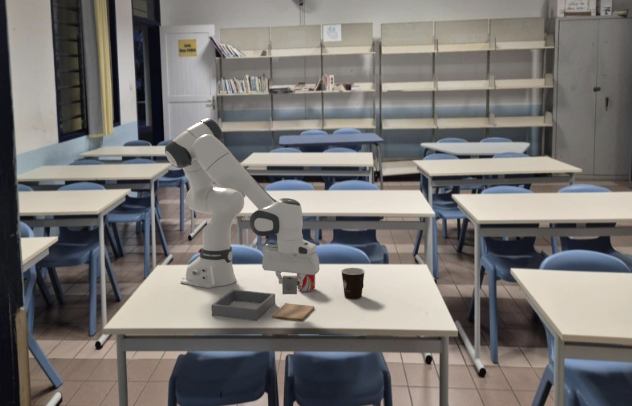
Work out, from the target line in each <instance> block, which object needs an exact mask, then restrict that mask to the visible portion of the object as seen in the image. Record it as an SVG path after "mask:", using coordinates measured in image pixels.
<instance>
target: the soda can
mask: <svg viewBox="0 0 632 406" xmlns="http://www.w3.org/2000/svg"><path fill="white" fill-rule="evenodd" d="M296 276H297V281H298V280H300V279H301V277H302V276H301V277H300V274H298V273H296ZM315 288H316V274H315V275H309V274H306V276H305V277H304V279H303V285H302V286H297V290H299V291H300V292H301V293H302V292H304V293H308V292H312V291H313V290H315Z"/></svg>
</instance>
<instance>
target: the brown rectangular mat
mask: <svg viewBox="0 0 632 406" xmlns="http://www.w3.org/2000/svg"><path fill="white" fill-rule="evenodd" d="M314 309H315V306H314V305H308V304H307V305H306V304H296V303H289V302H287V303H286V302H285V303H284V304H283V305H282V306H281V307H280V308H279V309H277V311H276V312H275V313H273V314H272V315H271V319H279V320H286V321H296V322H304V320H305V319H306V318H307V317H308V316H309V315H310V314H311V313H312V312H313V311H314ZM309 313H310V314H309Z"/></svg>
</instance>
